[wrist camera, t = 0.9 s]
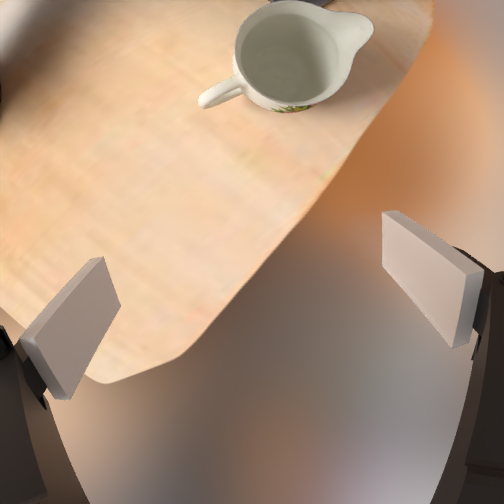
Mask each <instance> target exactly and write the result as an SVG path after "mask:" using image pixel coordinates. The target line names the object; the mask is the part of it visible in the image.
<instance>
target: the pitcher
mask: <svg viewBox="0 0 504 504" xmlns="http://www.w3.org/2000/svg"><path fill="white" fill-rule="evenodd" d="M373 33H374V25H373V23H372V21H371V20H370V19H369V18H368V17H366V16H365V15H362V14H359V13H354V12H343V11H332V10H328V9H325V8H322V7H320V6H317V5H314V4H311V3H307V2H303V1H295V0H286V1H278V2H273V3H270V4H267V5H265V6H263V7H261V8H259V9H257V10H256V11H254V12H253V13H252V14H250V15H249V16H248V17H247V18H246V20H245V21H244V22H243V23H242V25H241V26H240V28H239V30H238V33H237V36H236V39H235V45H234V52H233V59H232V67H233V73H234V76H233V77H231V78H229V79H226V80H224V81H222V82H220V83H218V84H216V85H214V86H213V87H211V88H209V89H208V90H206V91H205V92H204V93H202V94H201V95H200V96H199V98H198V104H199V106H200V107H201V108H203V109H208V108H211V107H214V106H216V105H219V104H221V103H224V102H226V101H228V100H230V99H232V98H235V97H237V96H239V95H241V94H243V93H244V94H245V95H246V96H247V97H248V98H249V99H250V100H251V101H252V102H254V103H255V104H257V105H258V106H260V107H262V108H265V109H267V110H270V111H274V112H280V113H293V112H299V111H303V110H306V109H309V108H311V107H313V106H315V105H317V104H318V103H319V102H321V101H323V100H325V99H327V98H329V97H330V96H332V95H333V94H335V93H336V92H337V91H338V90H339V89H340V88H341V87H342V86H343V84H344V83H345V81H346V80H347V78H348V76H349V74H350V71H351V68H352V65H353V61H354V58H355V56H356V54H357V52H358V50H360V49H361V48H362V47H363V46H364V45H365V44H366V43H367V42H368V41H369V39H370V38H371V37H372V35H373Z"/></svg>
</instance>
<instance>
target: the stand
mask: <svg viewBox="0 0 504 504" xmlns="http://www.w3.org/2000/svg"><path fill="white" fill-rule="evenodd" d="M269 1H270V2H271V3H273V2H278V1H286V0H269ZM295 1H303V2H307V3H311V4H314V5H317V6H320V7H322V6H324V5H326V4H327V3H329V2H331V1H333V0H295Z"/></svg>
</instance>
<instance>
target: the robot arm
mask: <svg viewBox="0 0 504 504" xmlns="http://www.w3.org/2000/svg"><path fill="white" fill-rule="evenodd" d="M0 102H1V85H0ZM382 238H383V242H382V243H383V245H382V246H383V247H382V248H383V249H382V253H383V254H382V266H383V268H384V269H385V270H386V271H387V272H388V273H389V274H390V275H391V276H392V277H393V279H394V280H395V281H396V282H397V283H398V284H399V286H400V287H401V288H402V289H403V290H404V291H405V292H406V294H407V295H408V296H409V297H410V298H411V299H412V301H413V302H414V303H415V304H416V305H417V306H418V308H419V309H420V310H421V311H422V313H423V314H424V315H425V316H426V317H427V319H428V320H429V321H430V322H431V323H432V325H433V326H434V327H435V328H436V330H437V331H438V332H439V333H440V334H441V336H442V337H443V338H444V339H445V341H446V342H447V343H448V344H449V346H450V347H451V348H455V347H457V346H460V345H464V344H466V343H469V340H470V336H471V333H472V329H473V328H474V329H475V331H477V333H478V334H479V335H478V339H477V342H476V346H475V349H474V353H473V355H472V359H471V360H473V365H472V371H471V376H470V381H469V386H468V390H467V395H466V399H465V403H464V407H463V411H462V415H461V418H460V422H459V425H458V429H457V432H456V436H455V439H454V442H453V445H452V449H451V451H450V454H449V457H448V460H447V463H446V466H445V468H444V471H443V474H442V476H441V479H440V481H439V484H438V486H437V489H436V491H435V493H434V496H433V498H432V501H431V503H430V504H504V271H501V272H496V273H494V272H492V271H491V270H490V269H489V268H487V267H486V266H485V265H483V264H482V263H480V262H479V261H477V260H476V259H475V258H474V257H471V255H469V254H468V253H466V252H465V251H464V250H461V249H459V248H456V247H453V246H451V245H449V244H448V243H446V242H445V241H443V240H442V239H440V238H439V237H437V236H436V235H434V234H433V233H432V232H430V231H429V230H427V229H425V228H424V227H422V226H421V225H419V224H418V223H416V222H415V221H413V220H412V219H410V218H409V217H407V216H405V215H404V214H402V213H401V212H399V211H397V210H392V211H385V212H382ZM120 307H121V305H120V302H119V300H118V297H117V294H116V291H115V289H114V286H113V283H112V280H111V277H110V274H109V272H108V269H107V266H106V263H105V259H104V257H99V258H93V259H90V260H89V261H88V262H87V263H86V264H85V265H84V266H83V267H82V268H81V269H80V270H79V271H78V272H77V273H76V275H75V276H74V277H73V278H72V279H71V280H70V281H69V282H68V283H67V284H66V285H65V286H64V287H63V288H62V289H61V291H60V292H59V293H58V294H57V295H56V296H55V297H54V298H53V299H52V300H51V302H50V303H49V304H48V305H47V306H46V307H45V308H44V309H43V311H42V312H41V313H40V314H39V315H38V316H37V318H36V319H35V320H34V321H33V322H32V323H31V325H30V326H29V327H28V328H27V329H26V330H25V332H24V333H23V334H22V335H21V337H20V338H19V340H18V342H17V343H16V344H15V345H14V346H13V344H12V342H11V340H10V338H9V337H8V335H7V333H6V331H5V329H4V327H3V326H1V325H0V504H90V503H89V501H88V499H87V497H86V495H85V493H84V491H83V489H82V487H81V485H80V482H79V481H78V478H77V476H76V474H75V472H74V469H73V467H72V465H71V462H70V460H69V458H68V455H67V453H66V450H65V448H64V445H63V443H62V440H61V438H60V435H59V432H58V430H57V427H56V424H55V421H54V418H53V415H52V412H51V409H50V406H49V403H48V401H47V399H46V398H45V396H44V395H43V393H44V392H45V390H46V388H48V390H49V391H50V393H51V394H52V396H53V397H54V399H60V400H71V398H72V396H73V394H74V392H75V390H76V388H77V386H78V384H79V382H80V380H81V378H82V376H83V374H84V372H85V370H86V368H87V367H88V365H89V363H90V361H91V359H92V357H93V355H94V353H95V352H96V350H97V348H98V346H99V344H100V342H101V341H102V339H103V337H104V335H105V333H106V332H107V330H108V328H109V326H110V324H111V323H112V321H113V319H114V317H115V316H116V314H117V312H118V311H119V309H120Z"/></svg>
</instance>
